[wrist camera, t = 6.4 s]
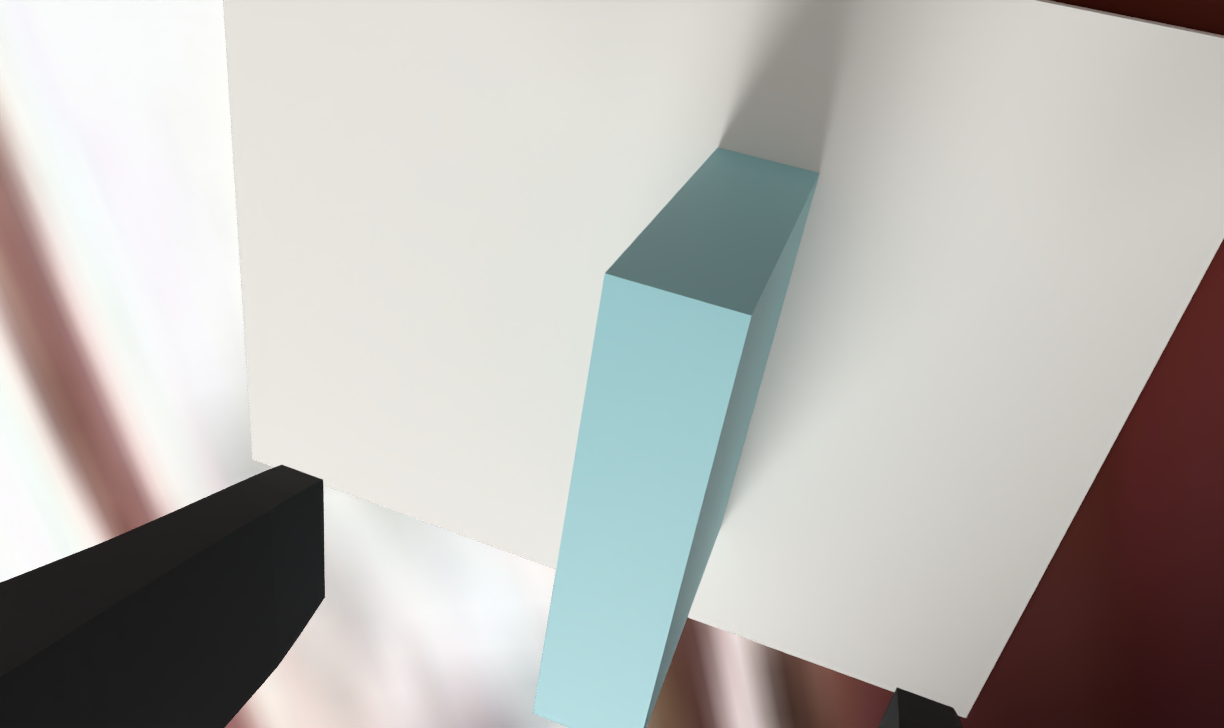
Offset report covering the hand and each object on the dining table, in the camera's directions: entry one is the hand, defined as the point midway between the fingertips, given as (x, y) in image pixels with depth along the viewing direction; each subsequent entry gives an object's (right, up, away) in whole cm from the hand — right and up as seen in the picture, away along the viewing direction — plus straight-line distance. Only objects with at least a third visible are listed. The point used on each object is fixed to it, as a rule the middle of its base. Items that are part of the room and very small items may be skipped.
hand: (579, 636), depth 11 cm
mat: (+1, +4, +7) cm, 9 cm away
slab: (+2, +3, +7) cm, 8 cm away
